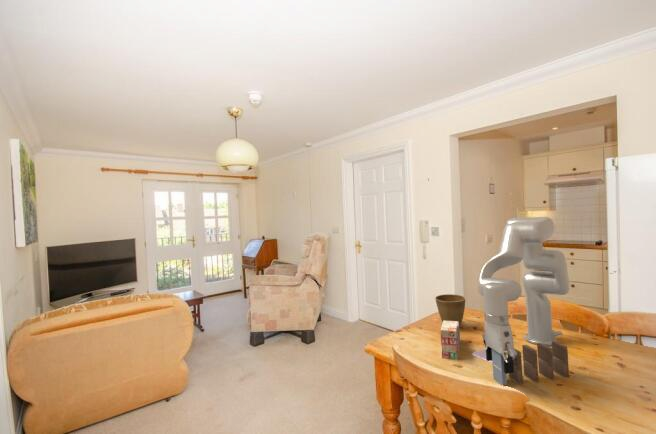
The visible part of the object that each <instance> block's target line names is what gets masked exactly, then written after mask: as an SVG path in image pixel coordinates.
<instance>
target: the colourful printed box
mask: <svg viewBox="0 0 656 434" xmlns="http://www.w3.org/2000/svg"><path fill="white" fill-rule="evenodd" d="M460 334H461V332H460V329H459V322H458V321H444V320H443V322H442V325H441V328H440V344H441V358H442V359H447V360H455V361H458V360H459V355H460V354H459V353H460V345H461V335H460Z"/></svg>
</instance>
